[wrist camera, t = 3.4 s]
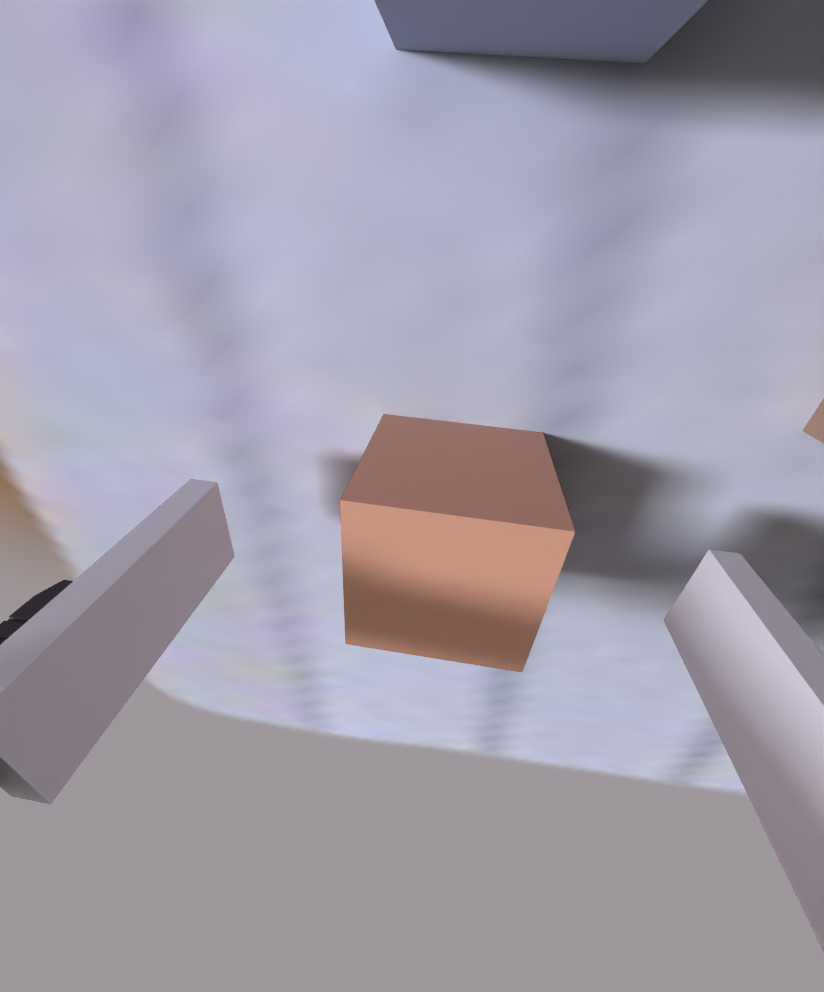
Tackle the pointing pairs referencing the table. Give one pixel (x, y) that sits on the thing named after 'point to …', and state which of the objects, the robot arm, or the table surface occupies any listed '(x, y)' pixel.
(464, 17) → the slate rectangular block
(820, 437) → the walnut cube
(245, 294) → the table surface
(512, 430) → the terracotta cube
